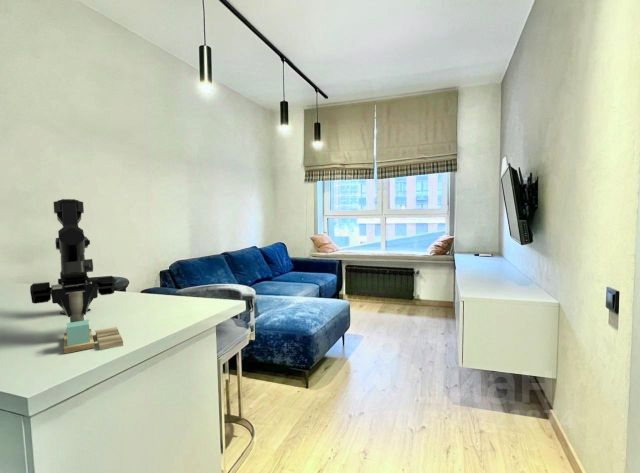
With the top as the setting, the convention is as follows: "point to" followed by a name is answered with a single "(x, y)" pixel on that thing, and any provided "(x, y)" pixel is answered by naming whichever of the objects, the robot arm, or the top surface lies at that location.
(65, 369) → the top surface
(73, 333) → the cube
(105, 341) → the beige rectangular block
